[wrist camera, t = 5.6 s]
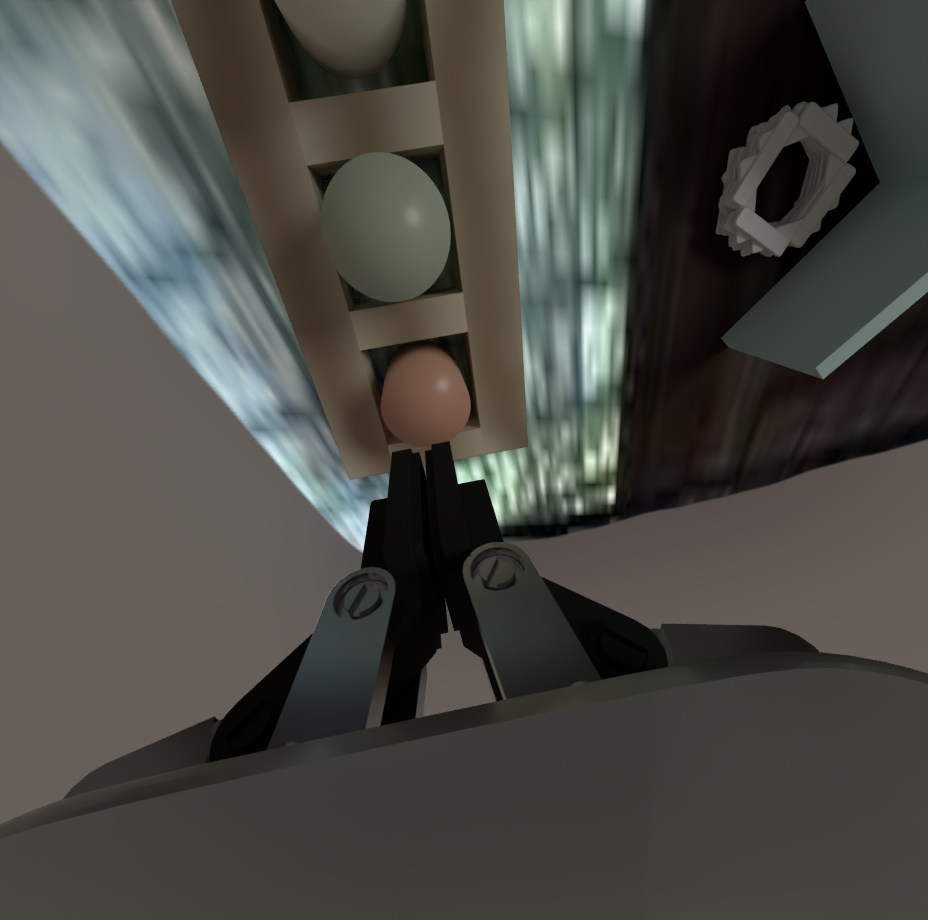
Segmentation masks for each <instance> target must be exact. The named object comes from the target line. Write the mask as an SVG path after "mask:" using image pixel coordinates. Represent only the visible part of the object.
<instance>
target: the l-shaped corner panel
mask: <svg viewBox="0 0 928 920" xmlns="http://www.w3.org/2000/svg"><path fill="white" fill-rule="evenodd" d="M805 4H806V6H807V9H808V11H809V13H810V16H811V18H812V21H813V23H814V25H815V28H816V30H817V33H818V35H819V37H820V40H821V42H822V45H823V47H824V49H825V52H826V54H827V57H828V59H829V61H830V64H831V66H832V69H833V71H834V73H835V76H836V78H837V80H838V83H839V85H840V88H841V90H842V92H843V95H844V97H845V100H846V102H847V104H848V107H849V109H850V112H851V114H852V116H853V118H849V119H846V120H843V121H840V122H836V121H837V113H838V104H837V103H835V104H832V105H829V106H827V107H822V108H821V107H820V106H819V105H817V104H816V103H815V102H810V103H809V104H808V103H807V102H801V103H797V104H796V106H795V107H794V108H793V110H791V108H790V106H789V105H786V106H784V107H783V108H782V109H781V110H780V111H779V112H778V113H777V115H774V116H772V117H771V118H770V119H769V121H768V122H764V123H760V124H759V125H757V126H753V127H752V128H750V131H749V134H748V138H747V142H746V147H739V148H734V149H732V150H731V151H730V152H729V158H728V164H727V170H726V172H725V173H724V174H723V176H722V182H723V183H724V188H723V195H722V196H721V198H720V202H719V204H718V206H719V208H720V211H719V217H718V222H717V227H716V234H718V235H721V234H723V236H727V235H729V247H732V250H734V251H735V250H741V256H747V255H751V254H752V253H757V252H759V253H760V254H762V255H764V256H768V257H771V256H772V255H775V256H776V257H780V256H781V255H782V254H783V252H784V250H785V249H786V247H787V246H791V247H793V246H794V247H796V248H800V247H802V246H803V244H804V243H805V242H806V240H807V239H808V238H809V236H810V235H811V234H812V233H814V232H817V231H819V230H820V226H821V220H822V218H823V217H824V216H825V214H826V213H827V212H828V211H829V210H832V209H834V208H836V207H837V206H838V204H839V199H840V194H841V193H842V191H843V190H844V188H845V187H846V186H847V184H848V183H849V182H850V180H851V179H852V178H853V176H854V175H855V173H856V169H855V168H854V167H852V166H851V165H850V164H848V163H846V162H847V161H848V160H849V159H850V158H851V156H852V155H853V153H854V152H855V150H856V149H857V147H858V145H859V141H858V140H857V139H856V138H854V137H853V136H852V135H851V131H852V126H853V119H854V121H855V124H856V126H857V128H858V131H859V133H860V136H861V138H862V140H863V143H864V145H865V148H866V150H867V152H868V155H869V157H870V160H871V162H872V164H873V167H874V169H875V172H876V174H877V176H878V179H879V181H880V183H879V184H878V185H877V186H876V187H875V188H874V189H873V190H872V191H871V192H870V193H869V194H868V195H867V196H866V197H865V198H864V199H863V200H862V201H861V202H860V203H859V204H858V205H857V206H856V207H855V208H854V209H853V210H852V211H851V212H850V213H849V214H848V215H847V216H845V217H844V218H843V219H842V220H841V221H840V222H839V223H838V224H837V225H836V226H835V227H834V228H833V229H832V230H831V231H830V232H829V233H828V234H827V235H826V236H825V237H824V238H823V239H822V240H821V241H820V242H819V243H818V244H817V245H816V246H815V247H814V248H813V249H812V250H811V251H810V252H809V253H808V254H807V255H806V256H804V257H803V258H802V259H801V260H800V261H799V262H798V263H797V264H796V265H795V266H794V267H793V268H792V269H791V270H790V271H789V272H788V273H787V274H786V275H785V276H784V277H783V278H782V279H781V280H780V281H779V282H778V283H777V284H776V285H775V286H774V287H773V288H772V289H771V290H770V291H769V292H768V293H767V294H766V295H765V296H763V297H762V298H761V299H760V300H759V301H758V302H757V303H756V304H755V305H754V306H753V307H752V308H751V309H750V310H749V311H748V312H747V313H746V314H745V315H744V316H743V317H742V318H741V319H740V320H739V321H738V322H737V323H736V324H735V325H734V326H733V327H732V328H731V329H730V330H729V331H728V332H727V333H726V334H725V335H724V336H723V337H721V339H722V340H723V341H724V342H725V344H726V345H727V346H728V347H730V348H733V349H736V350H738V351H741V352H744V353H747V354H750V355H753V356H756V357H759V358H762V359H765V360H768V361H771V362H774V363H777V364H780V365H783V366H786V367H789V368H792V369H795V370H798V371H801V372H804V373H807V374H810V375H813V376H816V377H819V378H822V379H824V378H825V377H826V376H827V375H829V374H830V373H831V372H832V371H833V370H835V369H836V368H837V367H838V366H839V365H841V364H842V363H843V362H844V361H845V360H847V359H848V358H849V357H850V356H851V355H853V354H854V353H855V352H856V351H857V350H859V349H860V348H861V347H862V346H863V345H865V344H866V343H867V342H868V341H869V340H871V339H872V338H873V337H874V336H875V335H877V334H878V333H879V332H880V331H881V330H882V329H884V328H885V327H886V326H887V325H888V324H890V323H891V322H892V321H893V320H894V319H896V318H897V317H898V316H899V315H900V314H902V313H903V312H904V311H905V310H906V309H908V308H909V307H910V306H911V305H912V304H914V303H915V302H916V301H917V300H918V299H920V298H921V297H922V296H923V295H924V294H926V293H927V292H928V0H806V1H805ZM797 141H800V142H801V143H802V145H803V147H804V149H805V152H806V154H807V156H808V158H809V164H808V168H807V171H806V175H805V178H804V182H803V186H802V189H801V193H800V196H799V198H798V200H797V201H796V202H795V203H794V207H793V208H792V209H791V210H790V211H789V212H788V213H787V214H786V215H785V217H784V218H783V219H782V220H781V221H775V222H770V223H767V222H766V221H765V220H764V219H762V218H761V217H760V216H758V215H757V214H756V213H755V204H756V191H757V187H758V186H759V184H760V183H761V181H762V179H763V178H764V176H765V175H766V173H767V172H768V170H769V169H770V167H771V165H772V164H773V162H774V161H775V159H776V158H777V156H778V155H779V153H780V151H781V150H782V148H783V147H785V146H788V145H790V144H793V143H795V142H797Z"/></svg>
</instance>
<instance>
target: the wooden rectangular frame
mask: <svg viewBox="0 0 928 920" xmlns="http://www.w3.org/2000/svg"><path fill="white" fill-rule="evenodd" d="M171 1H172V4H173V7H174V10H175V12H176V15H177V18H178V20H179V23H180V26H181V28H182V31H183V34H184V36H185V39H186V42H187V44H188V47H189V50H190V52H191V55H192V58H193V61H194V63H195V66H196V69H197V71H198V74H199V77H200V79H201V82H202V85H203V87H204V90H205V93H206V95H207V98H208V101H209V103H210V106H211V109H212V111H213V114H214V117H215V120H216V122H217V125H218V128H219V130H220V133H221V136H222V138H223V141H224V144H225V146H226V149H227V152H228V154H229V157H230V160H231V162H232V165H233V168H234V170H235V173H236V176H237V179H238V181H239V184H240V187H241V189H242V192H243V195H244V197H245V200H246V203H247V205H248V208H249V211H250V213H251V216H252V219H253V221H254V224H255V227H256V229H257V232H258V235H259V238H260V240H261V243H262V246H263V248H264V251H265V254H266V256H267V259H268V262H269V264H270V267H271V270H272V272H273V275H274V278H275V280H276V283H277V286H278V289H279V291H280V294H281V297H282V299H283V302H284V305H285V307H286V310H287V313H288V315H289V318H290V321H291V323H292V326H293V329H294V331H295V334H296V337H297V339H298V342H299V345H300V348H301V350H302V353H303V356H304V358H305V361H306V364H307V366H308V369H309V372H310V374H311V377H312V380H313V382H314V385H315V388H316V390H317V393H318V396H319V398H320V401H321V404H322V407H323V409H324V412H325V415H326V417H327V420H328V423H329V425H330V428H331V431H332V433H333V436H334V439H335V441H336V444H337V447H338V449H339V452H340V455H341V458H342V460H343V463H344V466H345V468H346V471H347V474H348V476H349V479H350V480H352V479H357V478H362V477H368V476H373V475H378V474H384V473H389V472H390V466H391V455H392V452H394V451H400V450H405V449H410V448H411V449H412V452H413V453H415V452H420V456H421V459H422V463H423V466H426V462H425V451H426V450H431V449H432V448H431V447H418V446H413V445H410V444H407V443H405V442H403V441H402V440H400V439H398V438H397V437H396V436H395V435H394V434H393V433H392V432H391V431H390V430H389V429H388V427H387V426H386V424H385V422H384V420H383V417H382V413H381V397H382V395H381V392H380V388H379V384H378V381H377V377H376V373H375V370H374V366H373V363H372V359H371V355H370V352H369V349H372V348H378V347H384V346H390V345H395V344H401V343H407V342H412V341H418V340H424V339H430V338H435V337H441V336H447V335H453V334H458V333H463V336H464V343H465V350H466V358H467V365H468V372H469V380H470V387H471V394H472V402H473V409H474V410H470V415H469V418H468V421H467V423H466V425H465V426H464V428H463V429H462V431H461V432H460V433H459V434H458V435H457V436H456V437H454V438H453V439H452V440H450V446H451V451H452V456H453V460H459V459H464V458H469V457H475V456H480V455H486V454H491V453H496V452H502V451H507V450H512V449H518V448H523V447H528V438H527V420H526V401H525V383H524V365H523V346H522V328H521V310H520V291H519V273H518V255H517V236H516V218H515V200H514V181H513V163H512V145H511V126H510V108H509V90H508V71H507V53H506V35H505V16H504V0H418V7H419V14H420V22H421V29H422V36H423V44H424V51H425V58H426V66H427V73H428V80H429V82H423V83H417V84H410V85H403V86H397V87H390V88H383V89H377V90H370V91H363V92H357V93H350V94H343V95H337V96H330V97H324V98H317V99H310V100H304V101H300V98H299V94H298V90H297V87H296V83H295V80H294V76H293V72H292V69H291V65H290V61H289V58H288V54H287V51H286V47H285V43H284V40H283V36H282V32H281V29H280V25H279V22H278V18H277V14H276V11H275V7H274V3H273V0H171ZM372 152H385V153H391V154H395V155H398V156H401V157H403V158H405V159H407V160H409V161H411V162H413V161H420V160H426V159H432V158H439V160H440V168H441V175H442V182H443V190H444V197H445V204H446V209H447V212H448V216H449V221H450V231H451V239H450V241H451V248H452V255H453V263H454V270H455V277H456V285H457V287H451V288H445V289H439V290H433V291H427V292H424V293H422V294H420V295H419V296H417V297H415V298H412V299H410V300H406V301H401V302H385V301H379V300H374V301H369V302H363V303H357V304H356V301H355V297H354V294H353V290H352V286H351V285H350V284H349V283H348V282H347V281H346V280H345V279H344V278H343V277H342V276H341V275H340V273H339V272H338V271H337V269H336V268H335V266H334V264H333V263H332V261H331V259H330V257H329V255H328V252H327V249H326V247H325V244H324V239H323V235H322V228H321V210H322V203H323V199H324V195H325V188H324V185H323V181H322V178H321V176H324V175H331V174H336V173H337V171H338V170H339V169H340V168H341V167H342V166H343V165H344V164H345V163H347V162H349V161H350V160H352V159H353V158H355V157H358V156H360V155H363V154H367V153H372Z"/></svg>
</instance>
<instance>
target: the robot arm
mask: <svg viewBox="0 0 928 920" xmlns="http://www.w3.org/2000/svg"><path fill="white" fill-rule="evenodd" d="M431 448H432V449H431V450H426V451H425V462H426V475H425V471H424V467H423V463H422V459H421V456H420V452H415V453H413V452H412V449H411V448H410V449H405V450H400V451H394V452H392V455H391V466H390V477H389V488H388V498H384V499H379V500H374V501H372V502H371V505H370V512H369V518H368V525H367V531H366V538H365V544H364V551H363V558H362V564H361V569H359V570H356V571H354V572H352V573H350V574H348V575H347V576H345V577H344V578H342V579H341V580H340V581H339V582H338V583H337V584H336V585H335V586H334V587H333V588H332V590H331V592H330V593H329V595H328V597H327V599H326V602H325V605H324V607H323V609H322V612H321V614H320V617H319V619H318V622H317V624H316V627H315V630H314V632H313V634H311V635H310V636H309V637H308V638H307V639H306V640H305V641H304V642H303V643H302V644H301V645H299V647H297V648H296V649H295V650H294V651H293V652H292V653H291V654H290V655H289V656H287V657H286V658H285V659H284V660H283V661H282V662H281V663H280V664H279V665H278V666H277V667H276V668H274V669H273V670H272V671H271V672H270V673H269V674H268V675H267V676H266V677H265V678H264V679H262V680H261V681H260V682H259V683H258V684H257V685H256V686H255V687H254V688H253V689H252V690H251V691H250V692H248V693H247V694H246V695H245V696H244V697H243V698H242V699H241V700H240V701H239V702H238V703H237V704H236V705H235V706H234V707H233V708H232V709H231V710H230V711H229V712H228V713H227V714H226V716H225V717H224V719H222V720H218V719H216V717H212V718H210V719H208V720H205V721H203V722H201V723H198V724H196V725H194V726H191V727H189V728H187V729H184V730H182V731H180V732H178V733H175V734H173V735H171V736H169V737H166V738H164V739H161V740H159V741H157V742H155V743H152V744H150V745H148V746H145V747H143V748H141V749H139V750H136V751H134V752H131V753H129V754H127V755H125V756H122V757H120V758H118V759H115V760H113V761H111V762H108V763H106V764H104V765H103V766H101V767H99V768H98V769H96V770H94V771H93V772H91V773H89V774H88V775H87V776H86V777H84V778H83V779H82V780H81V781H80V782H79V783H77V784H76V785H75V786H74V787H73V788H72V789H71V790H70V791H69V792H68V793H67V795H66V796H65V797H64V798H63V799H62V800H60V801H57V802H54V803H52V804H49V805H46V806H43V807H41V808H38V809H35V810H33V811H30V812H27V813H25V814H22V815H20V816H18V817H16V818H14V819H11V820H9V821H7V822H5V823H2V824H0V920H928V674H927V673H924V672H921V671H917V670H914V669H911V668H907V667H903V666H899V665H895V664H891V663H887V662H882V661H877V660H871V659H866V658H860V657H855V656H849V655H840V654H831V653H822V652H819V651H818V650H817V649H816V648H815V647H814V646H813V645H811V644H810V643H808V642H807V641H806V640H804V639H803V638H801V637H800V636H798V635H796V634H794V633H791V632H789V631H786V630H784V629H782V628H776V627H770V626H755V625H753V626H752V625H705V624H704V625H703V624H662V625H661V629H648V628H647V627H646V626H644V625H642V624H641V623H639V622H637V621H636V620H634V619H631V618H629V617H627V616H625V615H623V614H621V613H619V612H617V611H614V610H612V609H610V608H608V607H605V606H603V605H601V604H599V603H597V602H595V601H592V600H590V599H588V598H586V597H584V596H582V595H580V594H578V593H575V592H573V591H571V590H569V589H567V588H565V587H562V586H560V585H558V584H556V583H554V582H552V581H549V580H547V579H545V578H543V577H541V576H540V574H539V572H538V571H537V569H536V567H535V566H534V564H533V563H532V561H531V559H530V557H529V556H528V555H527V554H526V553H525V551H524V550H523V549H521V548H519V547H518V546H516V545H513V544H510V543H506V542H503V539H502V536H501V532H500V529H499V526H498V522H497V519H496V516H495V512H494V509H493V506H492V502H491V499H490V496H489V493H488V489H487V486H486V483H485V480H484V479H482V480H477V481H472V482H467V483H462V484H458V482H457V477H456V471H455V466H454V461H453V456H452V451H451V446H450V441H447V442H441V443H436V444H431ZM426 478H427V479H426ZM445 599H446V602H447V606H448V610H449V613H450V617H451V620H452V624H453V628H454V631H458V630H460V634H461V638H462V642H463V645H464V647H466V648H467V649H469V650H470V651H472V652H473V653H475V654H476V655H478V656H479V657H481V658H482V663H483V666H484V670H485V673H486V676H487V678H488V682H489V685H490V688H491V691H492V694H493V697H494V700H495V702H492V703H487V704H482V705H478V706H473V707H468V708H463V709H459V710H454V711H449V712H444V713H440V714H435V715H430V716H425V717H423V710H424V700H425V691H426V682H427V667H426V664H427V663H428V662H429V660H430V659H431V658H432V657H433V655H434V654H435V653H436V649H439V648H441V635H440V634H443V633H448V624H447V614H446V603H445Z"/></svg>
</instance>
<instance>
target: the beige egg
mask: <svg viewBox="0 0 928 920" xmlns="http://www.w3.org/2000/svg"><path fill="white" fill-rule="evenodd" d="M274 1H275V3H276V4H277V6H278V8H279V10H280V12H281V13H282V15H283V17H284V19H285V20H286V22H287V24H288V26H289V27H290V29H291V31H292V33H293V34H294V36H295V38H296V39H297V41H298V42H299V44H300V45H301V47H302V48H303V49H304V50H305V52H306V53H307V54H308V55H309V56H310V57H311V58H312V59H313V60H314V61H315V62H316V63H317V64H318V65H320V66H321V67H322V68H324V69H325V70H327V71H328V72H330V73H332V74H335V75H337V76H340V77H343V78H349V79H361V78H365V77H368V76H371V75H373V74H375V73H376V72H378V71H379V70H381V69H382V68H383V67H384V66H385V65H386V64H387V63H388V62H389V60H390V59H391V58H392V56H393V55H394V53H395V51H396V49H397V47H398V45H399V42H400V40H401V36H402V33H403V29H404V23H405V16H406V0H274Z"/></svg>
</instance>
